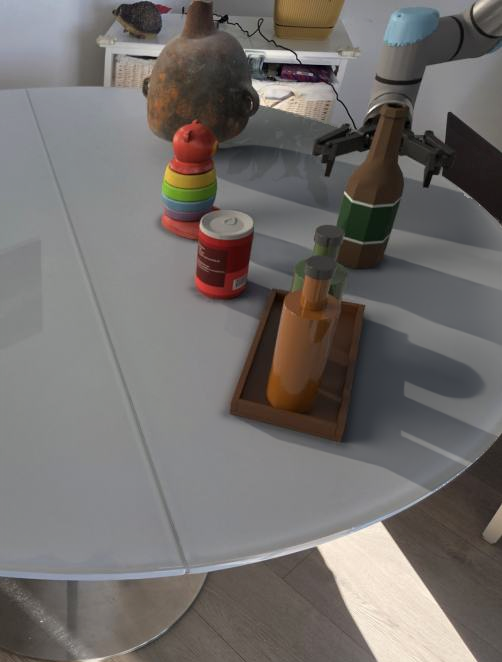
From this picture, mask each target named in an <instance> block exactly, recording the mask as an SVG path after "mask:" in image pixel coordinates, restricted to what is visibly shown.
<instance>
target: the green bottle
mask: <svg viewBox="0 0 502 662" xmlns="http://www.w3.org/2000/svg"><path fill="white" fill-rule="evenodd" d="M344 235H345V231H344V230H343V229H342V228H340V227H338V226H336V225H335V224H322V225H319V226H317V227H316V228H315V233H314V235H313V241H314V245H313V250H312V255H311V256H317V255H321V256H327V257H330V258H332V259H334V260H335V261H336V259H337V255H338V251H339V247H340V245H341V244H342V243H343V239H344ZM307 259H308V258H305V259H302V260H300V261H298V262H297V263H296V264H295V265H294V269H293V275H292V280H291V284H290V290H289V291H290V293H291V292H293V291H296V290H301V289H302V288H303V283H304V279H305V272H304V269H305V264H306V260H307ZM336 262H337V261H336ZM348 278H349V272H348V269H347V268H346V267H345V265H342V264H339V263H338V262H337V268H336V272H335V276H334V277H333V278H332V280H331V284H330V288H329V292H328V294H330V295H332V296H333V297H335V298H336V299H337V300H338V301H339V303H340V305H341V301H343V297H344V292H345V290H346V285H347V281H348Z"/></svg>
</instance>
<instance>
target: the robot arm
mask: <svg viewBox="0 0 502 662" xmlns="http://www.w3.org/2000/svg"><path fill="white" fill-rule="evenodd" d="M382 41H383V42H382V47H381V51H380V57H379V59H378V60H379V61H378V64H377V65H378V66H377V70H376V73H375V77H374V80H373V84H372V87H371V91H370V96H369V99H368V104H367V109H366V111H365V115H364V119H363V122H362V126H361V127H359V128H358V129H356V128H353V127H352V126H351V124H350V123H346V122H345V123H342V124H341V126H340V127H339V128H336V129H334V130H332V131H330V132H328V133H326V134H324V135H321V136H320V137H319V136H318V137H317V138H316V139H314V143H313V146H312V152H311V155H312V156H314V157H319V156H321V159H320V163H321V164H326V165H325V169H324V170H325V171H324V175H323V177H325V178H330V176H331V173H332V170H333V168H334V165H335V162H336V158H337V157H339V156H344V155H347V154H351V153H354V152H359V153H363V152H367V151H369V150H370V147H371V144H372V141H373V138H374V135H375V132H376V129H377V125H378V122H379V119H380V116H381V114H380V113H379V111H380V109H381V108H382V106H383V105H385V104H386V103H392V102H398V103H404V104H406V105H407V106H409V107H410V114H409V115H407V116H406V120H405V125H404V130H403V135H402V139H401V144H400V149H399V156H398V157H404V156H406V157H407V158H409V159H411V160H413V161H415V162H417V163H419V164H420V165H423V166H424V170H423V180H422V188H423V189H429V188H430V185H431V182H432V179H433V176H439V175H440V173H441V170H442V168H443V169H444V170H452V169H453V167H454V164H455V161H456V157H457V155H458V152H457V151H456V150H454V149H453V148H452V147H450V146H449V145H448V144H447V143H445V142H444V141H443V140H442V139H440V138H438V137H437V136H436V135H435V132H434V131H433V130H430V129H427V130H425V131H424V132H423V133H421V134H415V132H414V131H413V130H412V128H413V122H414V121H413V120H414V111H415V105H416V102H417V98H418V95H419V91H420V87H421V84H422V81H423V77H424V75H425V72H426V69H427V67H429V66H434V65H440V64H444V63H450V62H456V61H462V60H467V59H478V58H480V57H484V56H486V55H489V54H492V53H495V52H497V51H498V50H500V49H501V48H502V0H476V1H475V2H474V3H472V4H471V5H469V7H467V8H466V9H465V10H463V11H462V12H460V13H457V14H451V15H443V16H440V12H439V11H438V10H437V9H436V8H432V7H427V6H414V7H412V6H411V7H410V6H408V7H401V8H399V9H397V10H395V11H393V13H392V14H391V15H390V18H389V21H388V24H387V27H386V30H385V33H384V35H383V40H382Z"/></svg>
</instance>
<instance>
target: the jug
mask: <svg viewBox="0 0 502 662" xmlns="http://www.w3.org/2000/svg"><path fill="white" fill-rule="evenodd" d="M213 4H214V1H213V0H192V1H191V3H190V4H189V6H188V7H187V9H186V16H185V23H184V26H183V30H182V31H181V33H180V34H178V35H176V36H174V37H173V38H171V39H170V40H169V41H168V42H167V43H166V44H165V46H164V47H163V48H162V49H161V51H160V53H159V54H158V56H157V58H156V59H155V62H154V64H153V67H152V70H151V73H150V74H149V75H147V76H146V77H144V79H143V80H142V84H141V86H142V87H141V88H142V89H141V92H142V95H143V96H144V98H145V99H146V117H147V118H146V119H147V124H148V127H149V130H150V132H151V133H152V134H153V135H154V136H155V137H157V138H158V139H160V140H163V141H165V142H168V143H172V144H173V138H174V136H175V134H176V132H177V131H178V130H179V129H180V128H181V127H183V126H185V125H188V124H192V122H193V121H194V120H199V124H202V125H204V126H206V127H208V128H209V130H210V131H211V132H212V134H213V135H214V137H215V138H216V139H217V141H218V144H221V143H224V142H227V141H229V140H232V139H234V138H235V137H237V136H239V135H240V134H241V133H243V132H244V130H245V129H246V128H247V125H248V123H249V120H250V118H251V117H253V116H254V115H256V114H257V112H258V111H259V109H260V103H261V99H260V95H259V93H258V91H257V90H256V88H254V86H253V79H252V72H251V68H250V63H249V61H248V57H247V55H246V52H245V49H244V47H243V46H242V44H241V42H239V40H238V39H237V38H236V37H235V36H234V35H232V34H231V33H229V32H228V31H225V30H223V29H220V24H219V21H217V20H214V14H213V13H214V12H213V6H214V5H213Z"/></svg>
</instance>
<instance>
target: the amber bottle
mask: <svg viewBox="0 0 502 662" xmlns="http://www.w3.org/2000/svg"><path fill="white" fill-rule="evenodd" d="M306 259H307V260H306V264H305V269H304V272H305V279H304V283H303V288H302V289H301V290H296V291H293V292H291V293H289V294H288V295H287V296H286V297H285V299H284V303H283V308H282V314H281V319H280V324H279V329H278V334H277V339H276V345H275V350H274V355H273V360H272V365H271V370H270V376H269V381H268V386H267V391H266V397H267V400H268V402H269V403H270V404H271V405H272V406H273V407H274V408H278V409H282V410H286V411H290V412H294V413H298V414H303V413H307V412H309V411H311V410H312V409H313V408H314V407H315V405H316V402H317V398H318V394H319V390H320V387H321V383H322V379H323V375H324V372H325V368H326V364H327V360H328V356H329V353H330V349H331V345H332V341H333V338H334V334H335V330H336V326H337V322H338V319H339V315H340V311H341V305H340V303H339V301H338V300H337V299H336V298H335V297H333V296H332V295H330V294H328V292H329V288H330V284H331V280H332V278H333V277H334V276H335V272H336V268H337V263H338V262H337V261H335V260H334V259H332V258H330V257H327V256H321V255H317V256H312V255H311V256H309V257H308V258H306Z"/></svg>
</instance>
